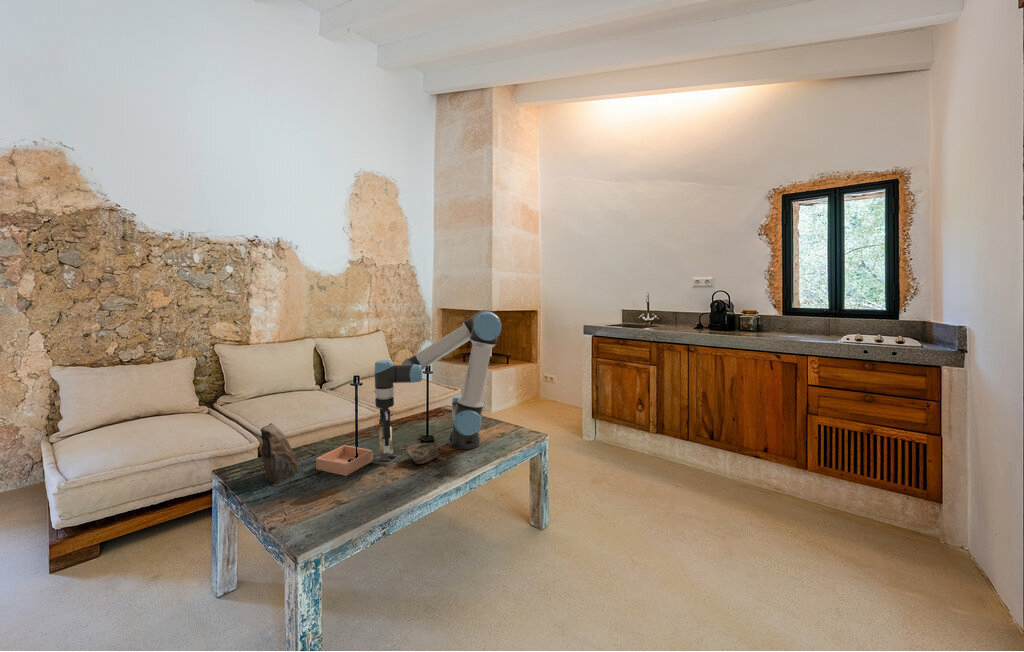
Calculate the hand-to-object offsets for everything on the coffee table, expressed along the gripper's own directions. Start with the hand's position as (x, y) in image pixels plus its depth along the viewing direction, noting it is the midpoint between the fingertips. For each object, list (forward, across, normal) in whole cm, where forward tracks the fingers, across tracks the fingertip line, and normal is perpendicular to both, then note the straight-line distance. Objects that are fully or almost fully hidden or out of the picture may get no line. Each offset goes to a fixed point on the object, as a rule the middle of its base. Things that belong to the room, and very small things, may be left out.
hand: (386, 450), depth 179 cm
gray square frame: (+5, 0, 0) cm, 5 cm away
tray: (+5, -2, -16) cm, 17 cm away
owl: (+5, -1, -40) cm, 40 cm away
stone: (+5, +6, +14) cm, 16 cm away
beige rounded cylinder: (+2, 0, 0) cm, 2 cm away
